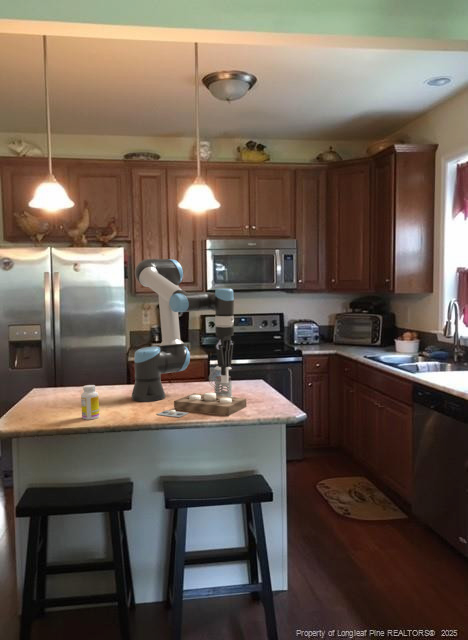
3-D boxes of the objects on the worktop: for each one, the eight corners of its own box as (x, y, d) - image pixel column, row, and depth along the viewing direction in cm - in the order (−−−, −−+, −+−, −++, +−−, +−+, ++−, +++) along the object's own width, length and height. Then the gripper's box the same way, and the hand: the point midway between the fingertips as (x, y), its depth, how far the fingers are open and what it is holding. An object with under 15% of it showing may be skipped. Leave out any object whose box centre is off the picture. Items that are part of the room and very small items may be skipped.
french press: (229, 400, 229) (228, 345, 227) (205, 399, 233) (204, 344, 231) (236, 396, 238) (236, 342, 237) (213, 394, 242) (212, 342, 240)
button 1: (187, 404, 219) (187, 396, 219) (193, 401, 223) (193, 394, 223) (197, 405, 217) (197, 397, 216) (203, 402, 221) (203, 395, 221)
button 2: (202, 401, 215) (202, 394, 215) (208, 399, 220) (208, 392, 219) (212, 403, 213) (212, 395, 213) (218, 400, 217) (218, 393, 217)
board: (174, 409, 215) (173, 400, 215) (194, 401, 230) (194, 393, 229) (228, 415, 204) (228, 406, 203) (246, 406, 218) (246, 398, 217)
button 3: (217, 407, 212) (217, 399, 212) (223, 404, 216) (223, 397, 216) (228, 408, 210) (228, 400, 209) (234, 405, 214) (234, 398, 214)
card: (156, 414, 207) (156, 411, 207) (166, 410, 213) (166, 407, 213) (179, 417, 202) (179, 413, 202) (188, 413, 208) (188, 409, 208)
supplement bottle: (100, 415, 207) (99, 384, 206) (97, 419, 201) (95, 387, 200) (84, 416, 207) (83, 384, 206) (79, 420, 200) (78, 387, 199)
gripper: (225, 328, 203) (225, 386, 205) (239, 325, 215) (239, 380, 217) (208, 327, 206) (209, 384, 209) (224, 324, 218) (224, 378, 220)
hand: (224, 382), depth 213 cm, fingers closed
